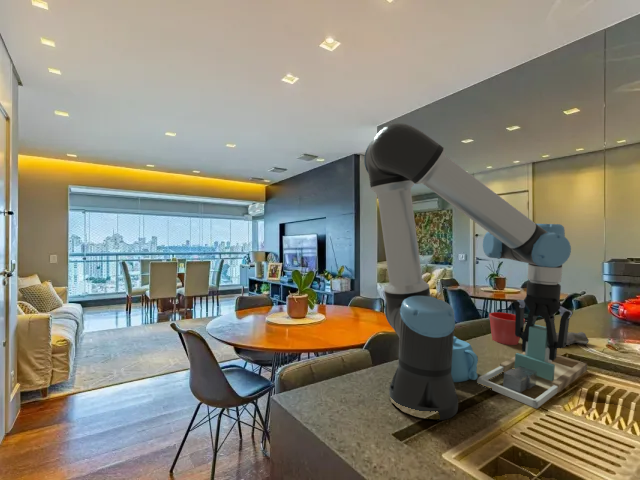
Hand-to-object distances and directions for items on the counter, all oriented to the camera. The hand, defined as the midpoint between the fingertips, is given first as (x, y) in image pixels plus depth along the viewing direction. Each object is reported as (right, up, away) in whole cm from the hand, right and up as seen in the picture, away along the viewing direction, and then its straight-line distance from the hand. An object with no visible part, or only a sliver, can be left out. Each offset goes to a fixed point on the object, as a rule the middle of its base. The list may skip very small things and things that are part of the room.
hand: (537, 367), depth 91 cm
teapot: (-24, -3, +2) cm, 24 cm away
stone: (+29, -3, +30) cm, 42 cm away
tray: (-10, -3, -7) cm, 13 cm away
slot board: (+4, -3, +3) cm, 6 cm away
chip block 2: (-6, -3, -5) cm, 8 cm away
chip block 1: (-10, -3, -7) cm, 12 cm away
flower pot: (+6, -2, +27) cm, 28 cm away
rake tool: (0, -1, 0) cm, 1 cm away
